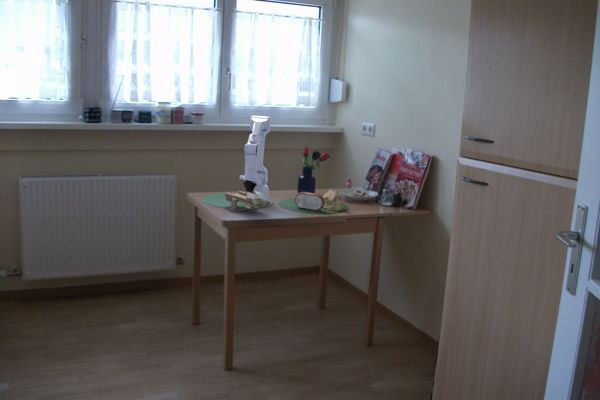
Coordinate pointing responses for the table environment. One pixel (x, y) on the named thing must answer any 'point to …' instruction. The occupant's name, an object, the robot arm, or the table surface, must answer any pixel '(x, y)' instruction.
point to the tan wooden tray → (245, 199)
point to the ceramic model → (332, 200)
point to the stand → (235, 208)
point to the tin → (309, 201)
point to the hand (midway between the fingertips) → (249, 196)
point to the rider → (254, 195)
